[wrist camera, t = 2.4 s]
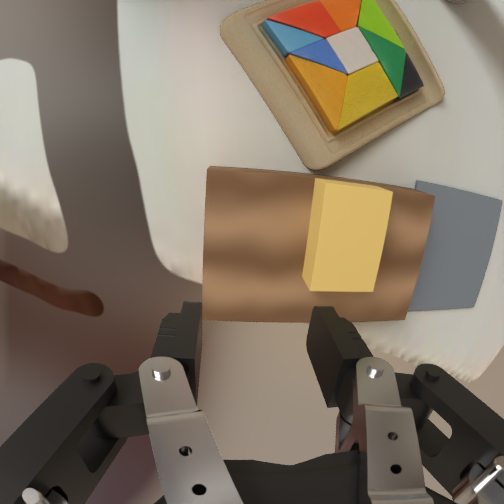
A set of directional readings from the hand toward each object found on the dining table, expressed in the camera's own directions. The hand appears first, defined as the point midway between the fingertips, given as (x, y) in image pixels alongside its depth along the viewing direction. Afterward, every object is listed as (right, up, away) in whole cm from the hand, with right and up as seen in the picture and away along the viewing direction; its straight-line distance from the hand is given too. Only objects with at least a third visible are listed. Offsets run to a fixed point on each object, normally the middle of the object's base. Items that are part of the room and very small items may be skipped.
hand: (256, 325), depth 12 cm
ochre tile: (+8, +4, +14) cm, 16 cm away
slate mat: (+25, +3, +22) cm, 33 cm away
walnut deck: (+6, +4, +20) cm, 21 cm away
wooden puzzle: (+9, +22, +14) cm, 28 cm away
